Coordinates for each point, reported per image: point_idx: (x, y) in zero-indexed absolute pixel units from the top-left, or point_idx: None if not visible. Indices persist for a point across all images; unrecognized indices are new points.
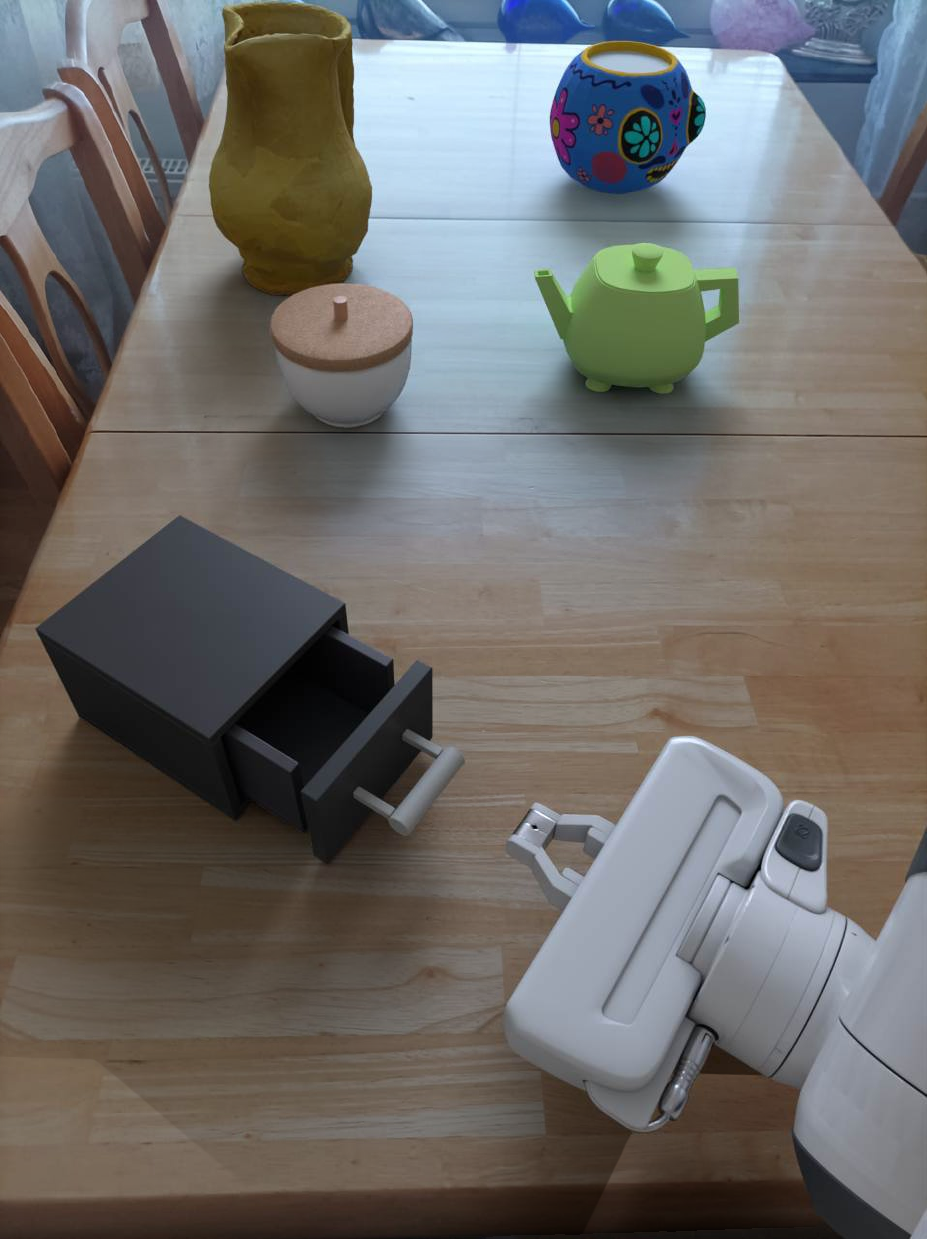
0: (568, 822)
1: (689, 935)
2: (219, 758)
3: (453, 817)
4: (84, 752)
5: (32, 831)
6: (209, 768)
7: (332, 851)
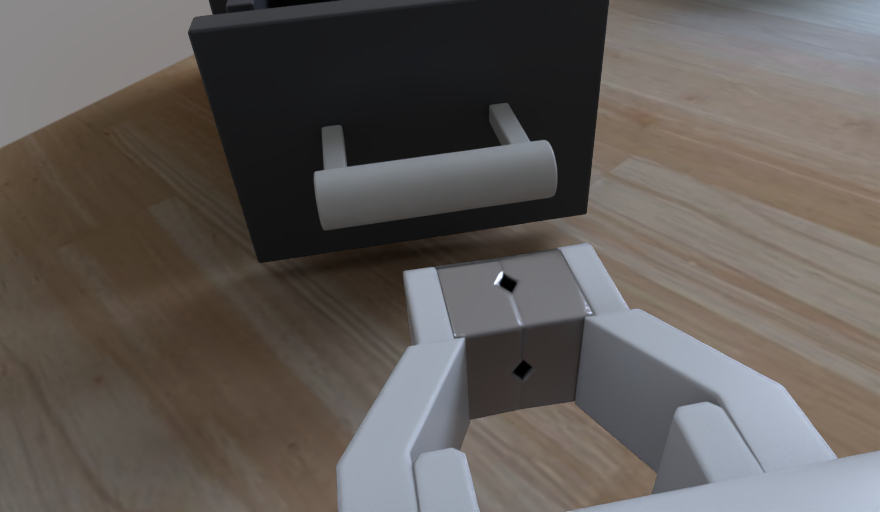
0: (633, 336)
1: None
2: (216, 4)
3: None
4: None
5: (123, 100)
6: None
7: (266, 236)
